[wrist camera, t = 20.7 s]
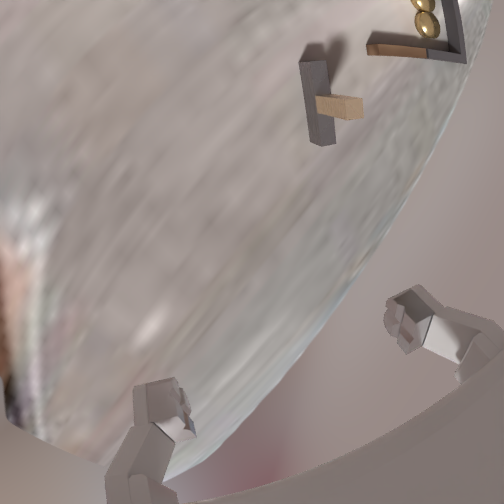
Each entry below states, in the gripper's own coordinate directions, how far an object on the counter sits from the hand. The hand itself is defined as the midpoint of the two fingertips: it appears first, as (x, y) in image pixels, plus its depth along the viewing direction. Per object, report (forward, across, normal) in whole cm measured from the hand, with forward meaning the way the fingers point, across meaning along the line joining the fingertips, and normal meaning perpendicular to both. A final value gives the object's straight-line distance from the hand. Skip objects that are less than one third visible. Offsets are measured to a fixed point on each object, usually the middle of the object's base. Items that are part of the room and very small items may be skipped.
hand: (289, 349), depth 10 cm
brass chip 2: (+27, -36, -15) cm, 48 cm away
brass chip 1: (+27, -36, -20) cm, 49 cm away
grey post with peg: (+27, -15, -4) cm, 31 cm away
